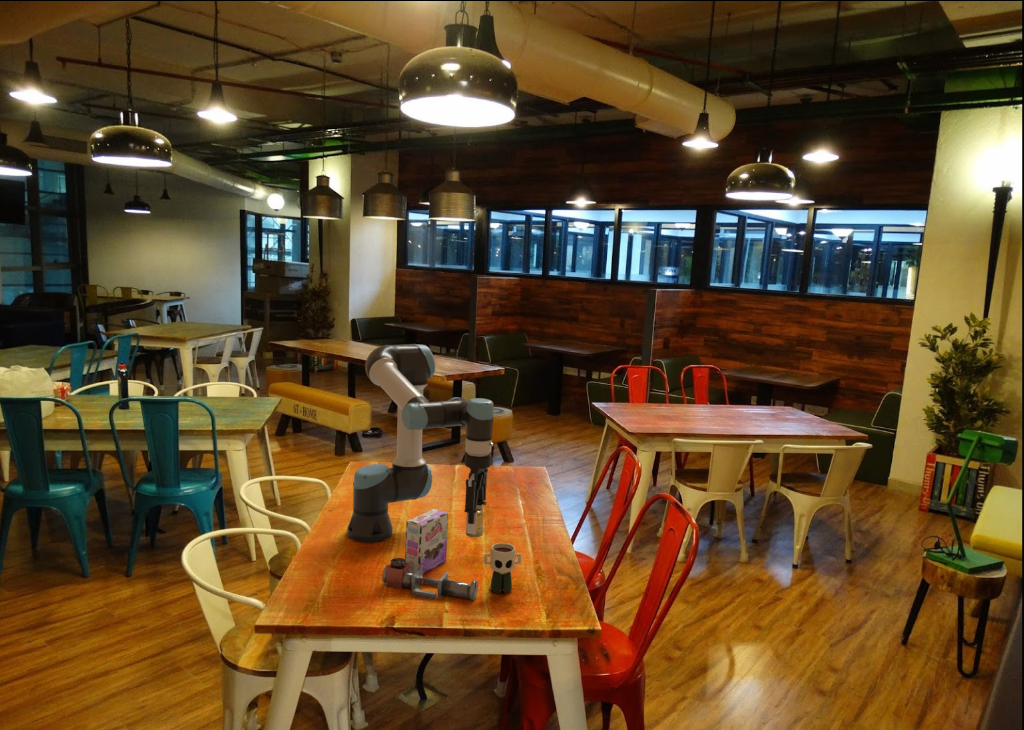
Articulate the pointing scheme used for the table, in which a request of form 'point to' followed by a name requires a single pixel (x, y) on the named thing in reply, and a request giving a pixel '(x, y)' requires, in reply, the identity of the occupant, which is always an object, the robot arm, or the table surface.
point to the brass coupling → (479, 524)
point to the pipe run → (400, 577)
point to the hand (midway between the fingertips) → (474, 529)
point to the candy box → (426, 540)
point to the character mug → (502, 566)
